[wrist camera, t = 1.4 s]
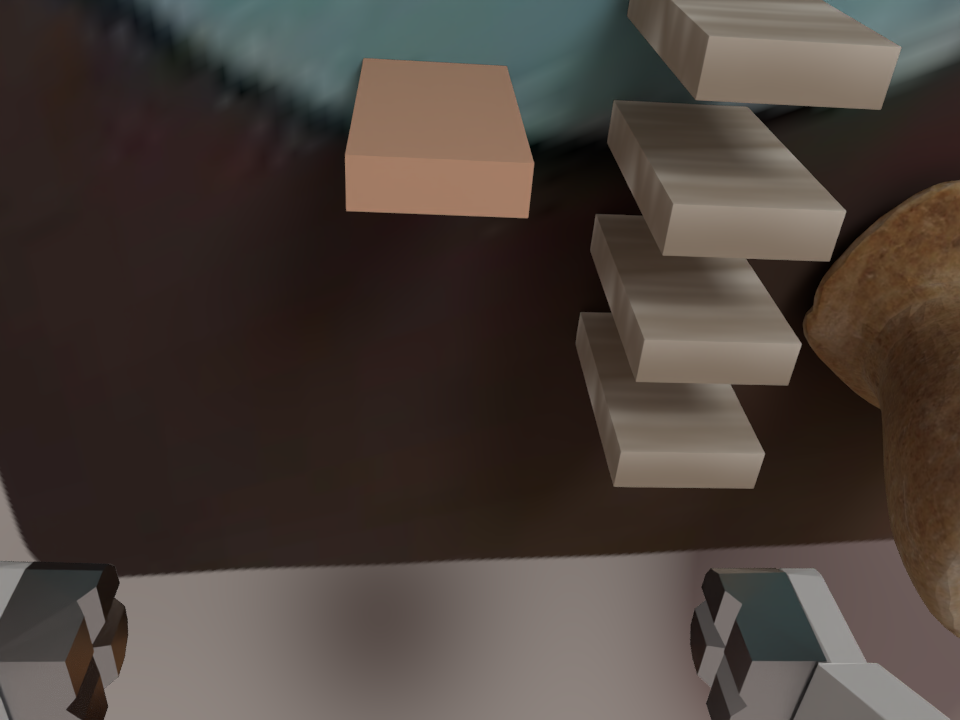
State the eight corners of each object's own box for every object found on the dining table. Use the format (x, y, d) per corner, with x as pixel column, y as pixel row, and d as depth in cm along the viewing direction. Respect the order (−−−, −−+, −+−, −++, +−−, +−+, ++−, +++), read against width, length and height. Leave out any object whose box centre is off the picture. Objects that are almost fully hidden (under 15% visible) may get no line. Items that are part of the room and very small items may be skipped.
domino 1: (363, 57, 30) (344, 154, 23) (506, 65, 30) (534, 163, 23) (363, 103, 31) (345, 210, 24) (502, 110, 31) (528, 218, 24)
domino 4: (596, 213, 34) (644, 339, 27) (719, 218, 34) (801, 344, 27) (590, 250, 35) (635, 381, 27) (710, 254, 35) (788, 385, 28)
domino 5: (580, 311, 36) (621, 451, 29) (695, 315, 37) (765, 453, 29) (575, 343, 37) (613, 486, 30) (688, 346, 38) (753, 488, 30)
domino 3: (613, 99, 31) (673, 204, 24) (747, 107, 32) (846, 211, 24) (607, 142, 32) (662, 255, 25) (737, 148, 33) (829, 261, 25)
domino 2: (634, -34, 29) (709, 36, 21) (779, -25, 29) (901, 47, 22) (627, 16, 30) (696, 99, 22) (767, 24, 30) (881, 109, 23)
